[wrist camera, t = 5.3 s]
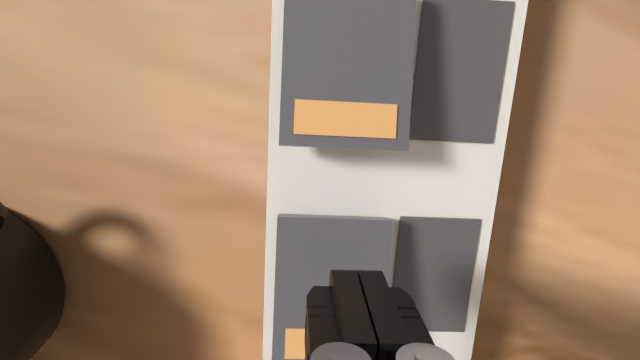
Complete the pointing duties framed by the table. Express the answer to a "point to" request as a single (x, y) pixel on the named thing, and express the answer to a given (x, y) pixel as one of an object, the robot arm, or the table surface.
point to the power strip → (418, 165)
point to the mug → (26, 289)
